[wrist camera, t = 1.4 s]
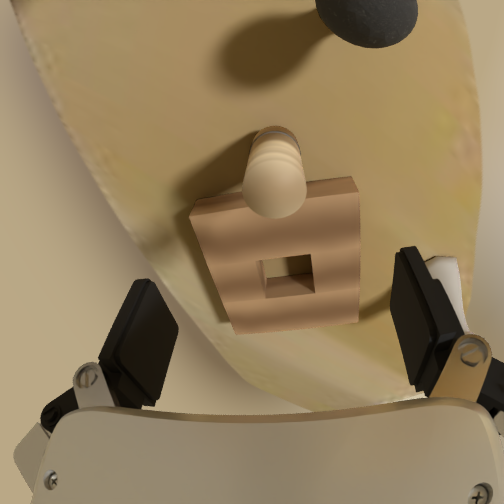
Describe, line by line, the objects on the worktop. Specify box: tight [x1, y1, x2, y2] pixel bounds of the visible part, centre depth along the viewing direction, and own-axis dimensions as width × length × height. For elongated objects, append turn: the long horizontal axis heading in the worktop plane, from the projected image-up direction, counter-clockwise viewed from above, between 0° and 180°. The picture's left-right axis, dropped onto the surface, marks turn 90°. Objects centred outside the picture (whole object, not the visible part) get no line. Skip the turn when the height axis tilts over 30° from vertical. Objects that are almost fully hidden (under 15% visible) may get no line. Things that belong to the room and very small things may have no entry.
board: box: [189, 176, 360, 335], centre depth 30 cm, size 16×14×3 cm
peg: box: [242, 126, 307, 219], centre depth 21 cm, size 4×4×9 cm
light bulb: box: [315, 0, 418, 48], centre depth 13 cm, size 6×6×10 cm
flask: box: [425, 256, 474, 335], centre depth 28 cm, size 7×7×10 cm
